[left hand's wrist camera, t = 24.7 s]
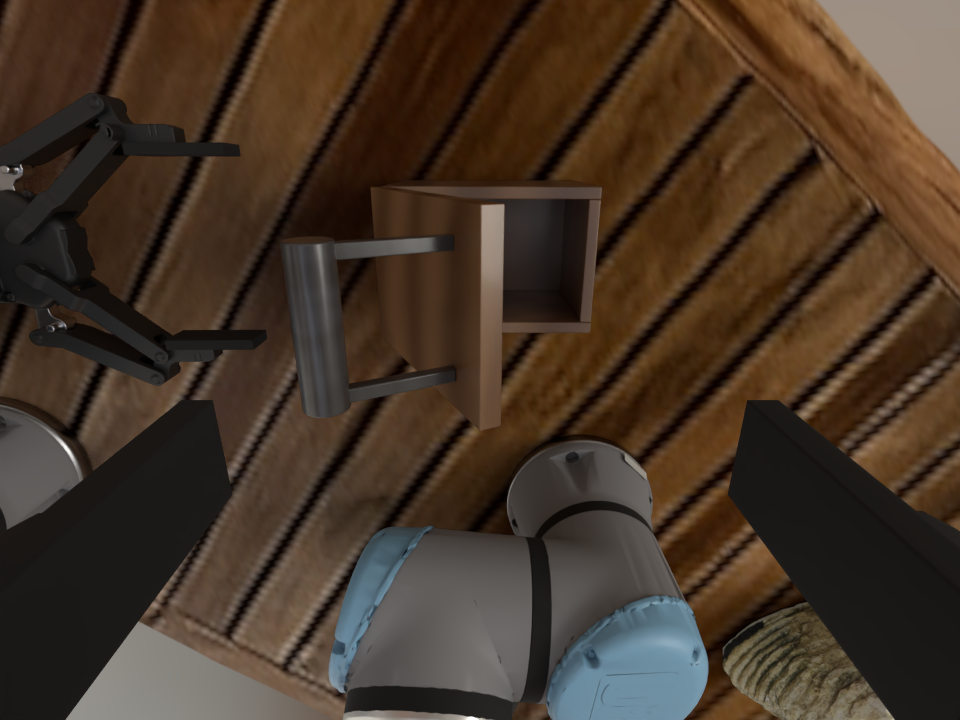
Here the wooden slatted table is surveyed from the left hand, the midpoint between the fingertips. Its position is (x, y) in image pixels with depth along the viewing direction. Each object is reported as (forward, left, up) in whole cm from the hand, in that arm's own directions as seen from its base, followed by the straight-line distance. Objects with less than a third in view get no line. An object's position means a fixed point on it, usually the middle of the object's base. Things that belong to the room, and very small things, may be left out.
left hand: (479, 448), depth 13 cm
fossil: (-18, -57, -36) cm, 70 cm away
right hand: (-9, +15, -27) cm, 32 cm away
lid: (-1, +2, -18) cm, 18 cm away
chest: (0, -1, -36) cm, 36 cm away
